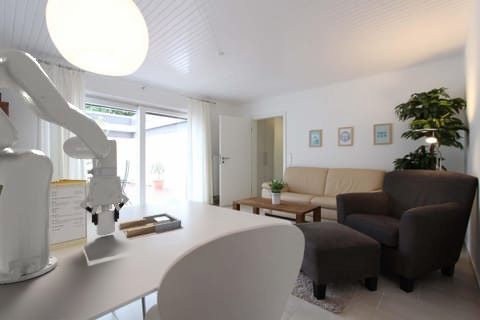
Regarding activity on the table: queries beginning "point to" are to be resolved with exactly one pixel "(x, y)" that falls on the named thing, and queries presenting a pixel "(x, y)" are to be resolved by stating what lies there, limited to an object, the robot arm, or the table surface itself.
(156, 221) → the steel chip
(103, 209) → the eye dropper bottle
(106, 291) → the table surface
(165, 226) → the grey tray
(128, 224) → the slotted board
